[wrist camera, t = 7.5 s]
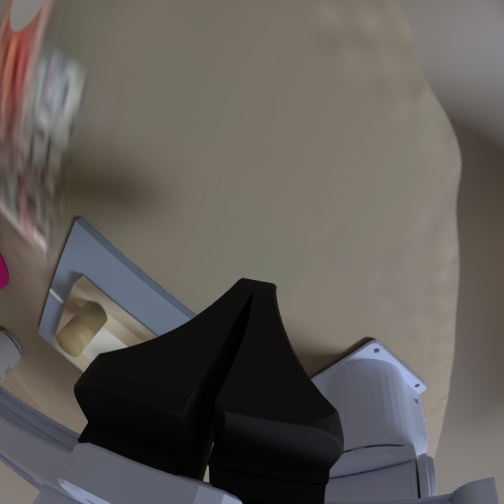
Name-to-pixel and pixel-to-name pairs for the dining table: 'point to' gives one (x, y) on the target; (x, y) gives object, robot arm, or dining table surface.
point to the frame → (95, 325)
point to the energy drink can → (8, 353)
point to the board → (108, 285)
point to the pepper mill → (3, 274)
